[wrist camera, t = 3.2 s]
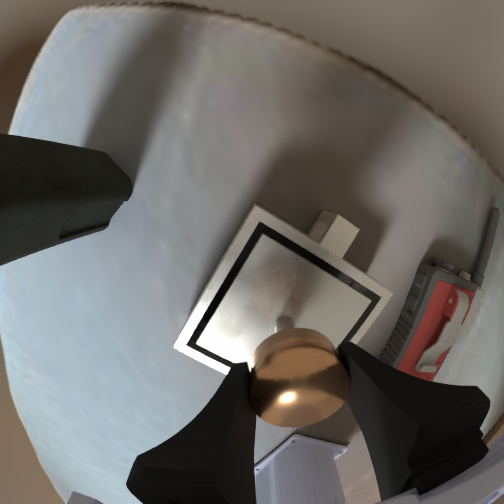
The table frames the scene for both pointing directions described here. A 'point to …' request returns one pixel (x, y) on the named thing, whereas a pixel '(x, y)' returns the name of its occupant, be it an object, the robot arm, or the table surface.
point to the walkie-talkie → (437, 313)
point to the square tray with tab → (317, 242)
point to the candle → (54, 194)
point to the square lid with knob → (286, 333)
